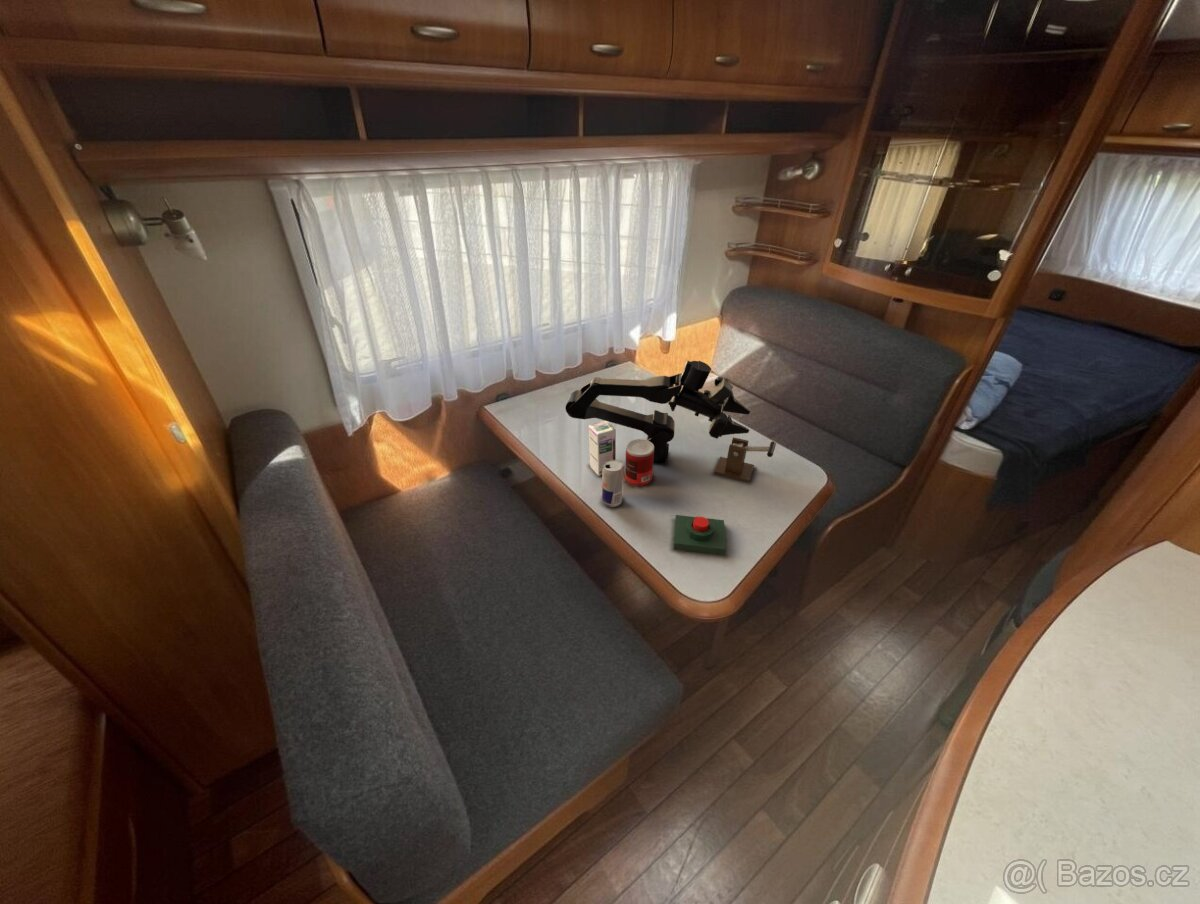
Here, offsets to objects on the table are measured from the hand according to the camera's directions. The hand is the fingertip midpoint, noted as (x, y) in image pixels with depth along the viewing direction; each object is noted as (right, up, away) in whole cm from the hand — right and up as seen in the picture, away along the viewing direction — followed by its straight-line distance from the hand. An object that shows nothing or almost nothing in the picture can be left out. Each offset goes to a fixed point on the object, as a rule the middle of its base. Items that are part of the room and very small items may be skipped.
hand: (749, 421), depth 131 cm
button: (-17, -26, -16) cm, 35 cm away
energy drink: (-38, -22, -3) cm, 44 cm away
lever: (+2, -8, +2) cm, 9 cm away
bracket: (-2, -14, +8) cm, 16 cm away
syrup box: (-40, -13, +9) cm, 44 cm away
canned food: (-30, -16, +5) cm, 34 cm away
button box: (-17, -29, -14) cm, 37 cm away
